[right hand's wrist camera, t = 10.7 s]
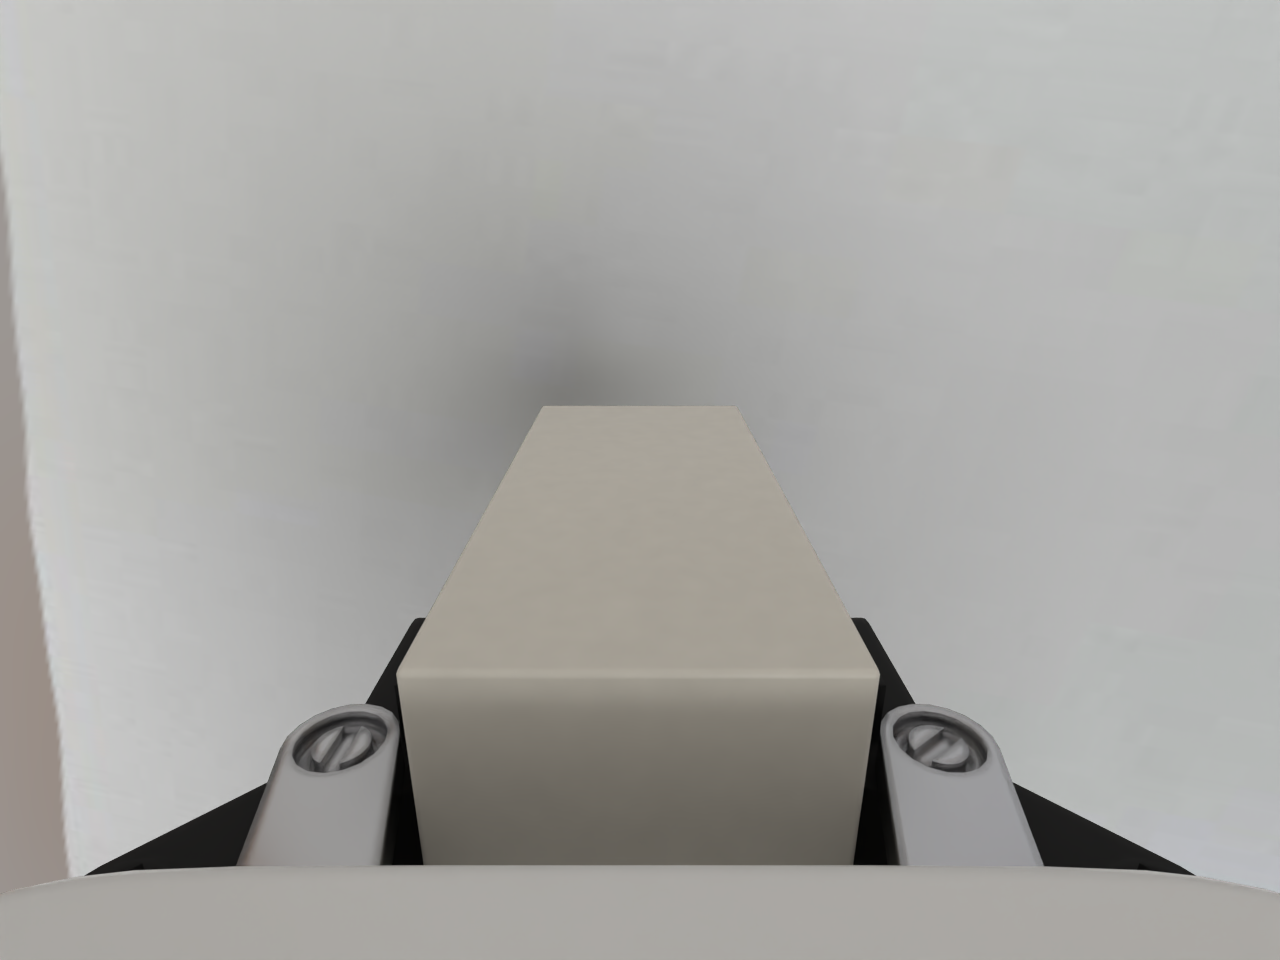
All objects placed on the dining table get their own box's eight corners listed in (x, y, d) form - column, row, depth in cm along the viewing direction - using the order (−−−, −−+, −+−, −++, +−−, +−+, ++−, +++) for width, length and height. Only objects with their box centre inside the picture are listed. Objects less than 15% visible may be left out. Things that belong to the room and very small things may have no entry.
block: (737, 404, 15) (883, 671, 6) (726, 629, 17) (824, 1086, 8) (541, 405, 15) (392, 671, 6) (552, 629, 17) (453, 1086, 8)
